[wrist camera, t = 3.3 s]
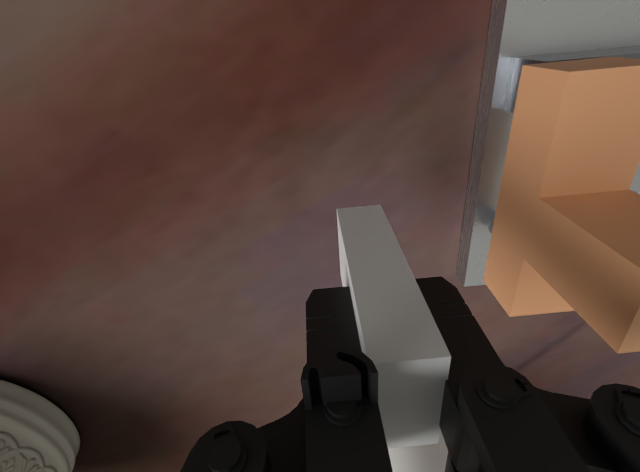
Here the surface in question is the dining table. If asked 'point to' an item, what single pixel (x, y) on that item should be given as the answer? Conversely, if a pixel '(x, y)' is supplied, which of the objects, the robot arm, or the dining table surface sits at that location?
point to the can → (420, 457)
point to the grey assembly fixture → (502, 86)
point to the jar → (34, 433)
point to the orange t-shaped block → (572, 198)
